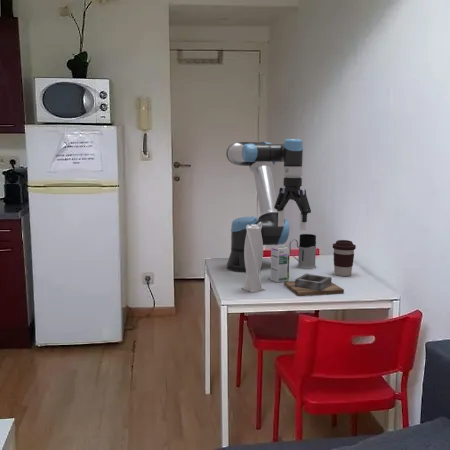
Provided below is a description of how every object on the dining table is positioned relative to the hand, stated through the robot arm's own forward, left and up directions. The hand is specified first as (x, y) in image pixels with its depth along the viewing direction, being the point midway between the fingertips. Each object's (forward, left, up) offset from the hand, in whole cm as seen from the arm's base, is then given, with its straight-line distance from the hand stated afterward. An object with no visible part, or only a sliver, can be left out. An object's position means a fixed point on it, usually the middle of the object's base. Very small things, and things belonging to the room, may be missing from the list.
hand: (291, 228), depth 237 cm
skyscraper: (+10, -19, -23) cm, 32 cm away
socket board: (+14, +5, -23) cm, 27 cm away
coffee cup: (-6, +27, -23) cm, 36 cm away
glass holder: (-22, +14, -23) cm, 34 cm away
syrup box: (-2, -4, -23) cm, 23 cm away
